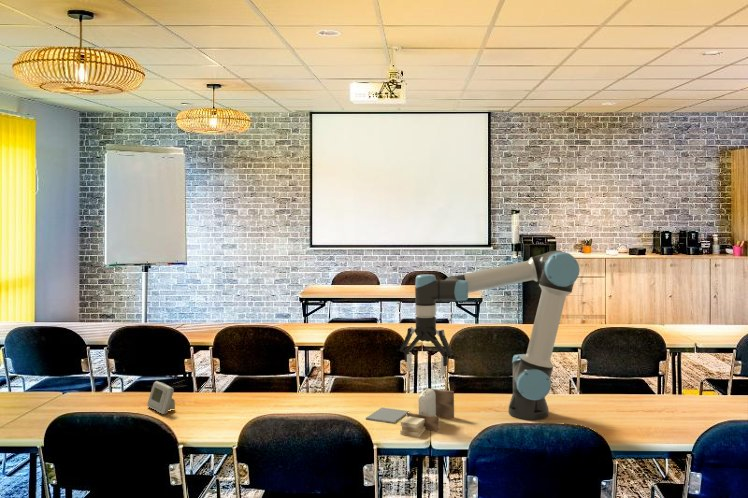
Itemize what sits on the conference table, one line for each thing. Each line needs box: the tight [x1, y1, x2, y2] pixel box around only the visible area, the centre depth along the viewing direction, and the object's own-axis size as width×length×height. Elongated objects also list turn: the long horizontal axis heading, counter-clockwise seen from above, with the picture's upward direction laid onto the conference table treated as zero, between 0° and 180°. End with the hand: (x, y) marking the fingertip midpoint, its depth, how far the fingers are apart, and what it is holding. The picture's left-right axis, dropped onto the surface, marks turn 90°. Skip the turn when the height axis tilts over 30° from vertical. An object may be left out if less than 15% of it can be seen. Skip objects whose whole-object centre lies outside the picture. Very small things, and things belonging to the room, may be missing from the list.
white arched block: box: [418, 388, 436, 416], centre depth 229 cm, size 10×4×12 cm, turn 156°
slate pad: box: [365, 407, 410, 424], centre depth 238 cm, size 12×14×1 cm
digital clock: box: [146, 380, 176, 415], centre depth 251 cm, size 16×9×11 cm, turn 31°
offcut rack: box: [406, 387, 455, 432], centre depth 230 cm, size 12×17×10 cm
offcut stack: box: [399, 416, 426, 437], centre depth 220 cm, size 7×7×4 cm
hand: (426, 372), depth 229 cm, fingers open, 13 cm apart
